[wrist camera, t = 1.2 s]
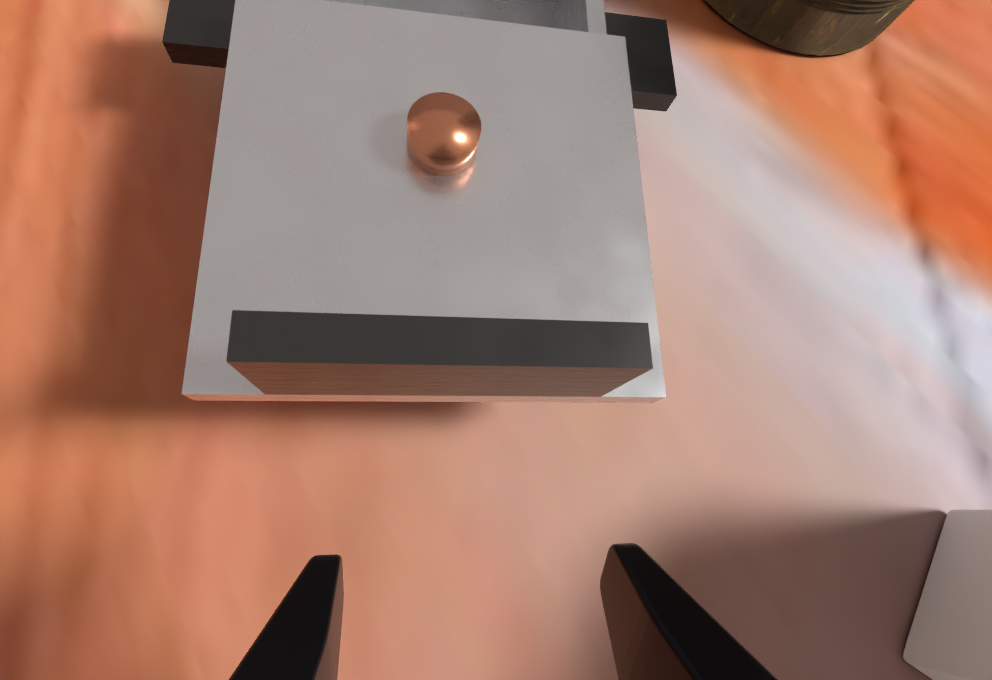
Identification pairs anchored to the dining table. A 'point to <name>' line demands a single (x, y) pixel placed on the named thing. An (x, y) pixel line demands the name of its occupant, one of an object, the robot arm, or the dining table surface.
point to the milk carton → (956, 603)
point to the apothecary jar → (812, 22)
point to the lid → (422, 214)
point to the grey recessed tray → (547, 3)
